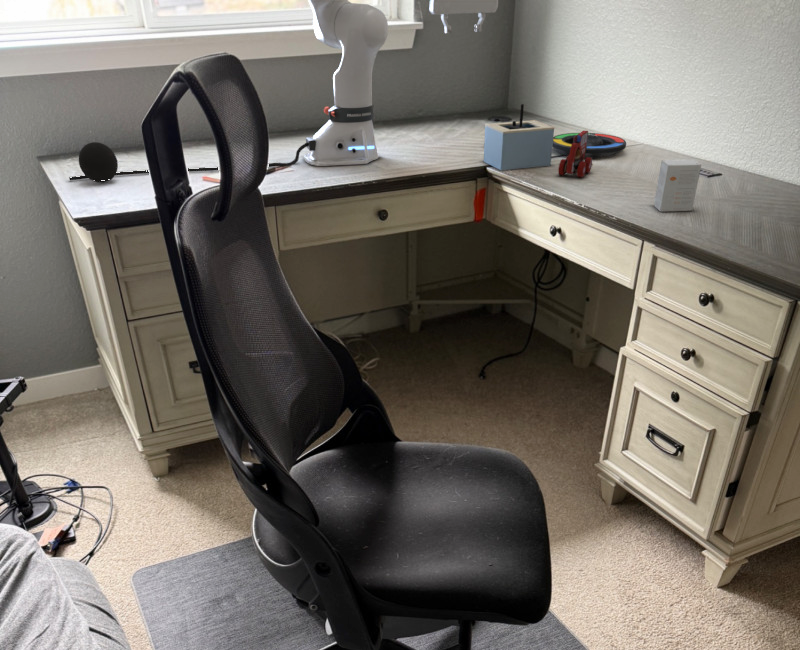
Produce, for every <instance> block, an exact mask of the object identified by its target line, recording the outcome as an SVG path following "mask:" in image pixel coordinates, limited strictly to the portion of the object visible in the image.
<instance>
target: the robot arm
mask: <svg viewBox="0 0 800 650" xmlns="http://www.w3.org/2000/svg"><path fill="white" fill-rule="evenodd" d="M307 1H308V3H309V5H310V8H311V10H312V13H313V19H312V22H313V23H312V27H313V32H314V35H315V37H316V39H317V40H318V41H319V42H321V43H322V44H324V45H325V46H328V47H329V48H333V49H336V50H337V49H338V50H342V55H341V61H340V63H339V66H338V68H337V69H336V70H335V71H334V73H333V76H332V84H333V85H332V86H333V103H334V104H333V106H332V107H329V106H324V108H323V112H324V114H325V115H327V116H328V121H327V122H326V123H325V124H324V125H323V126H322V127H321V128H320V129H318V131H317V132H316V133H314V135H313V136H312V137H306V138H305V143H303V144H302V145H300V146H299V147H298V149H297V150H296V152H295V157H294V159H293V160H291V161H290V162H269V163H268V164H269V167H268V168H273V167H285V166H290V165H295V164H296V163H297V162H298V161H299V158H300V153H301V151H303V150H304V149H305V148H307V149H308V151H310V152H308V153H306V154H305V155H304V162H306V163H307V164H309V165H311V166H316V167H327V166H330V167H331V166H349V165H351V166H352V165H367V164H369V163H371V162H372V161H375V160H378V159H379V157H380V155H379V151H378V148H377V144H376V137H375V130H374V128H375V127H374V126H375V109H374V104H373V71H374V65H375V61H376V59H377V56H378V52H379V51H380V49H382V47H383V46H384V44H385V43H386V41H387V38H388V36H389V35H388V33H389V23H388V20H387V16H386V14H385V13H384V12H383V11H382V10H381V9H379V8H377V7H375V6H373V5H370V4H368V3H357V2H351V1H349V0H307ZM428 5H429V8H428V10H429V13H430V14H431V15H435V16H436V15H440V20H441V22H442V24H443V27H444V28H443V29H444V30H443V31H444V34H452V25H449V23H448V21H447V20H448V19H449V15H465V14H477V17H478V18H479V19H478V21H477V23H476V24H475V23H474V24H473V25H474V32H475V33H481V32H482V25H483V23H484V22H485V19H486V16H487V15H486V14H490V13H492V14H493V13H496V11H497V10H498V8H499V0H429V4H428ZM216 167H217V168H205V167H198V168H199V169H189V168H190V167H187V168H188V171H189V173H191V172H215V171H218V172H219V170H218V167H219V166H216ZM144 170H145V171H137V170H132V171H133V172H123V171H119V172H120V173H116V175H115V176H114V177H117V176H127V175H144V174H150V173H149V172H148V170H149V169H144ZM146 170H147V172H146ZM76 176H77V175H76ZM76 176H74V175H73V176H69V177H68V179H69V182H70V181H79V180H87V179H88V180H89V178H88V177H86V176H82V175H79V176H80V177H76ZM70 177H72V178H70Z"/></svg>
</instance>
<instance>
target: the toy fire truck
mask: <svg viewBox="0 0 800 650" xmlns="http://www.w3.org/2000/svg"><path fill="white" fill-rule="evenodd" d="M578 133H579V134H578V135H576V136H575V137H574V139H573V141H575V142H574V143H572V145H571V149H570V153H569V155H568V156H567V155H566V158H562V159H560V161H559V164H558V169H557V172H558V175H559V176H561V177H562V176H566V174H569V175H574V174H576V176H577V178H582V179H583V178H584V177H585V175H586V174H587V175H588V174H589V173H591V170H592V166H593V158H589V157H587V158H584V157H585V151H586V144H587V139H588V133H589V130H582V131H580V132H578Z"/></svg>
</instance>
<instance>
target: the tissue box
mask: <svg viewBox="0 0 800 650" xmlns="http://www.w3.org/2000/svg"><path fill="white" fill-rule="evenodd" d="M512 124H513V121H506V122H495V123H493V122H492V123H485V124H484V140H483V141H484V142H483V163H485V164H487V165H489V166H491V167H493V168H495V169H497V170H499V171H509V170H510V171H511V170H519V169H528V168H529V169H530V168H540V167H549V166H551V165H552V154H553V147H552V146H553V137H554V136H555V135H554V134H555V127H554V126H552V125H549V124H546V123H544V122H541V121H539V120H536V119H532V120H523V122H522V126H524V127H526V128H523V129H511V130H509V126H512ZM519 124H520V120H519V121H516V125H518V126H519Z"/></svg>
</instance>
